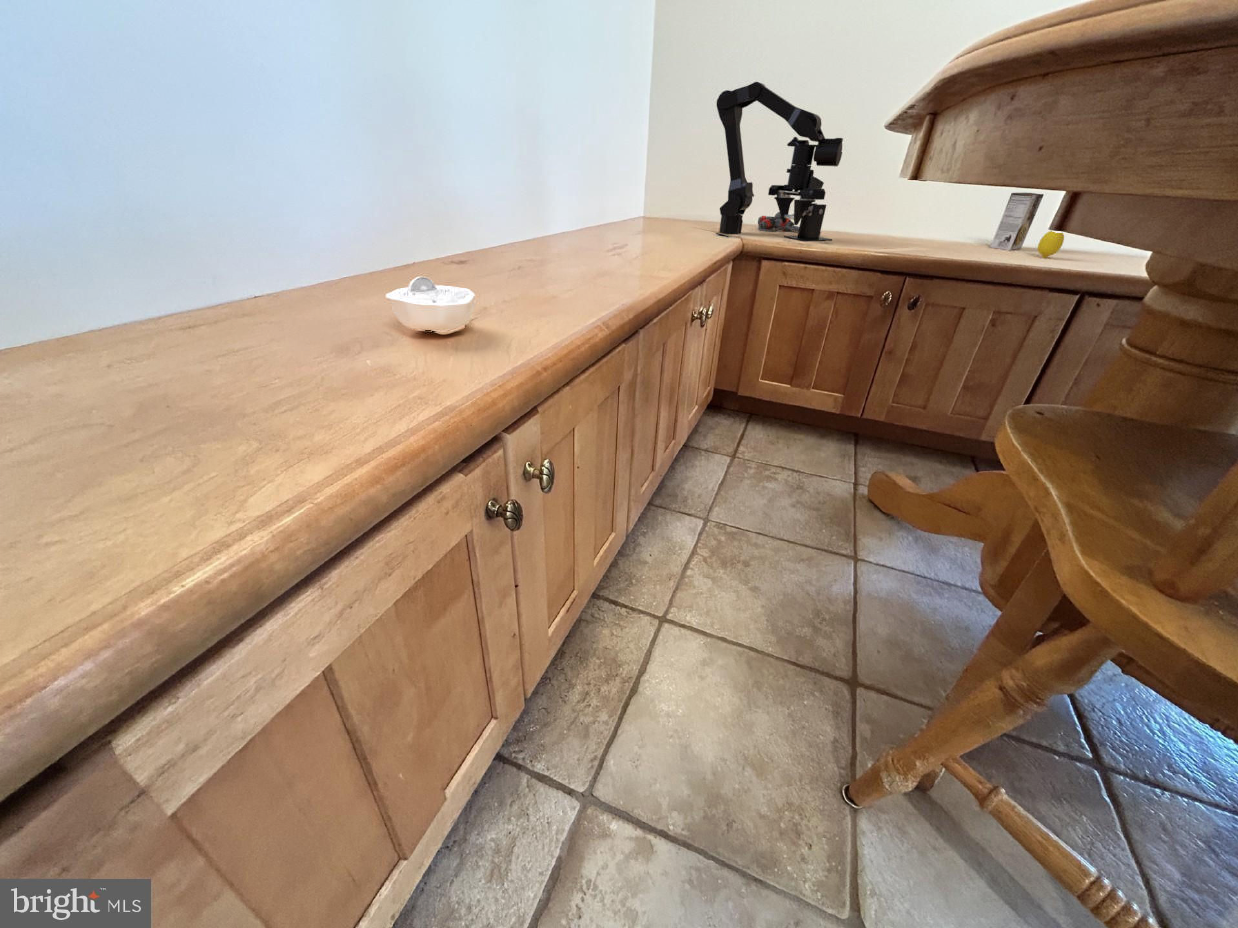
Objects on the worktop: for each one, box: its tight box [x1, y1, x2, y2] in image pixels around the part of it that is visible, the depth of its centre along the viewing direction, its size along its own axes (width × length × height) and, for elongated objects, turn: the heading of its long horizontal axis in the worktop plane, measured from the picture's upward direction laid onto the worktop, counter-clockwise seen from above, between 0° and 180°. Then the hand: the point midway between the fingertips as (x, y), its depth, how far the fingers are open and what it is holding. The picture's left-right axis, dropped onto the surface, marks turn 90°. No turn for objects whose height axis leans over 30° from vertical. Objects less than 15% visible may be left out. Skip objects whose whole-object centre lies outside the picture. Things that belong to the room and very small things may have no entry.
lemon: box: [1037, 230, 1065, 259], centre depth 147 cm, size 6×6×8 cm
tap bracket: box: [783, 202, 833, 243], centre depth 157 cm, size 12×9×11 cm
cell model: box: [385, 276, 476, 335], centre depth 65 cm, size 10×12×7 cm
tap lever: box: [784, 206, 813, 221], centre depth 154 cm, size 11×5×2 cm, turn 115°
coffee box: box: [989, 192, 1044, 251], centre depth 161 cm, size 9×6×16 cm
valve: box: [757, 211, 822, 235], centre depth 175 cm, size 6×26×15 cm
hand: (789, 224), depth 154 cm, fingers closed on tap lever, 5 cm apart
